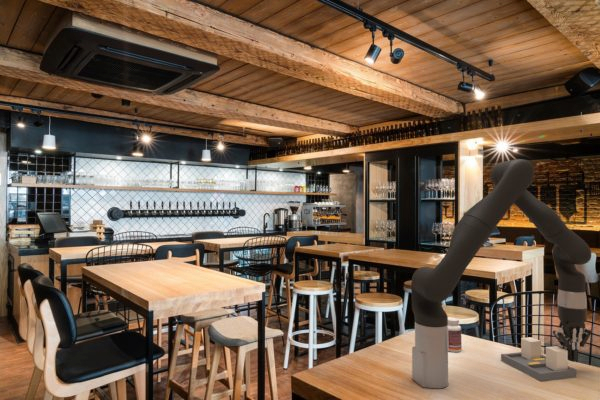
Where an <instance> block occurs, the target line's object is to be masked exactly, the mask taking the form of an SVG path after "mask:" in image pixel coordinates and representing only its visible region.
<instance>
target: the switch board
mask: <svg viewBox="0 0 600 400" xmlns="http://www.w3.org/2000/svg"><path fill="white" fill-rule="evenodd" d="M500 361H501V362H502V363H505V364H507V365H509V366H510V367H512V368H514V369H516V370H518V371H520V372H522V373H524V374H526V375H527V376H529V377H531V378H534V379H536V380H537V381H539V382H545V381H553V380H562V379H563V380H564V379H571V378H577V369H576V368H574V367H572V366H569V365H568V369H563V370H552V369H550V368H548V367H546V355H544V354H542V353H541V358H537V359H526V358H524V357H522V356H521V351H519V352H508V353H501V354H500Z"/></svg>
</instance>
